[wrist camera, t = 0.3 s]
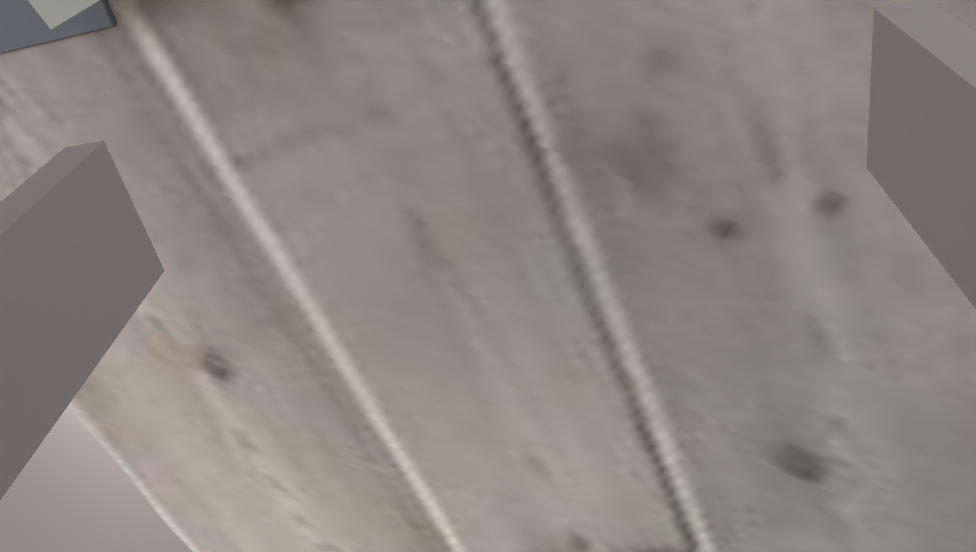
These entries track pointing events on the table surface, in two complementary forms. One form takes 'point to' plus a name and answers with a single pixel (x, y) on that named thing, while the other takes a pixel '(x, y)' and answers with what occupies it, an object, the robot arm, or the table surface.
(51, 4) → the grey cube
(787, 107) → the table surface
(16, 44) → the mat
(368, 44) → the table surface
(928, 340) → the table surface
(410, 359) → the table surface
